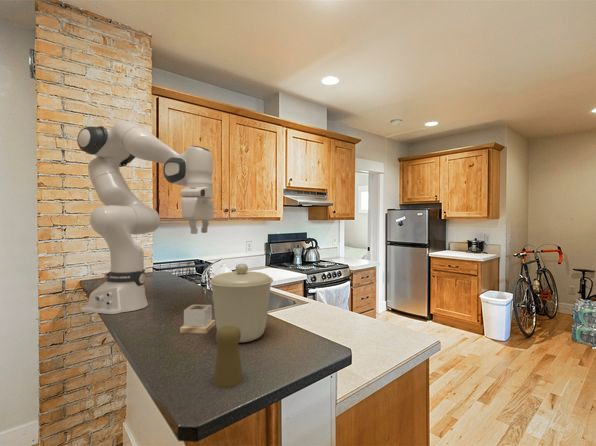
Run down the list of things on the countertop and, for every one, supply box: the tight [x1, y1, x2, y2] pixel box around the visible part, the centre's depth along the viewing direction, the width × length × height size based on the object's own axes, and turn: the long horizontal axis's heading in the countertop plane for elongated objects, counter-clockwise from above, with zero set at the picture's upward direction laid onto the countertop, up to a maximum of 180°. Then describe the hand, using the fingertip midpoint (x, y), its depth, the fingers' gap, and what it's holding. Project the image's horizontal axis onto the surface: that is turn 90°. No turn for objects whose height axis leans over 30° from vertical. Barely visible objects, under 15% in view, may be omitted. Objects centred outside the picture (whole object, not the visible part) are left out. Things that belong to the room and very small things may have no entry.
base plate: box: [179, 319, 216, 334], centre depth 96 cm, size 8×8×6 cm
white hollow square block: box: [183, 304, 213, 327], centre depth 96 cm, size 6×6×5 cm
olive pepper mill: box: [212, 326, 244, 389], centre depth 65 cm, size 6×6×11 cm
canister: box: [208, 263, 274, 344], centre depth 89 cm, size 18×18×21 cm
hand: (199, 233), depth 107 cm, fingers open, 8 cm apart
